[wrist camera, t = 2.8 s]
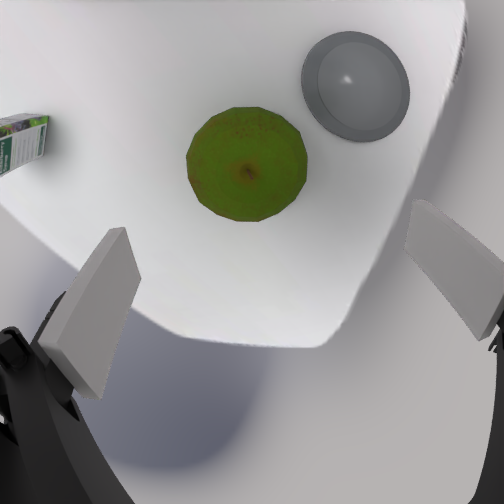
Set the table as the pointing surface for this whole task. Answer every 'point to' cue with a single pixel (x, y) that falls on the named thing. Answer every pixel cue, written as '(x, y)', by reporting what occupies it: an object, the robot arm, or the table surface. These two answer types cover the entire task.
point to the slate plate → (355, 86)
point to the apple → (247, 164)
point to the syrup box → (21, 140)
